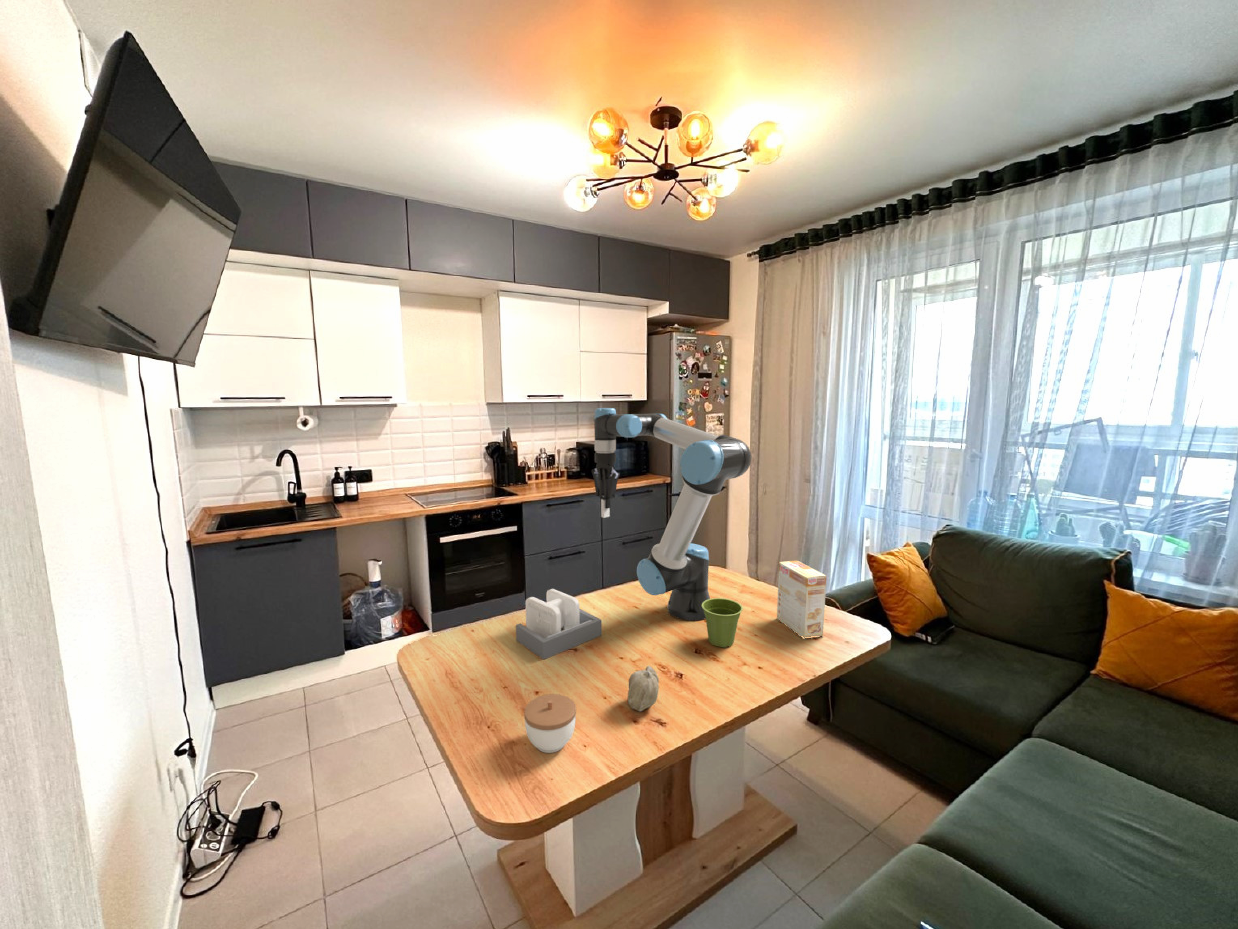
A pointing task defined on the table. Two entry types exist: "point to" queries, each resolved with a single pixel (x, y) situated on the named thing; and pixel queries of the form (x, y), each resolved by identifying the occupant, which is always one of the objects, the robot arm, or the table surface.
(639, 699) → the grey lumpy rounded piece
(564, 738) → the lidded jar
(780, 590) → the coffeecake box
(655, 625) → the table surface
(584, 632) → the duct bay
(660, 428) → the robot arm
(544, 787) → the table surface
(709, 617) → the plant pot
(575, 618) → the cable organizer
